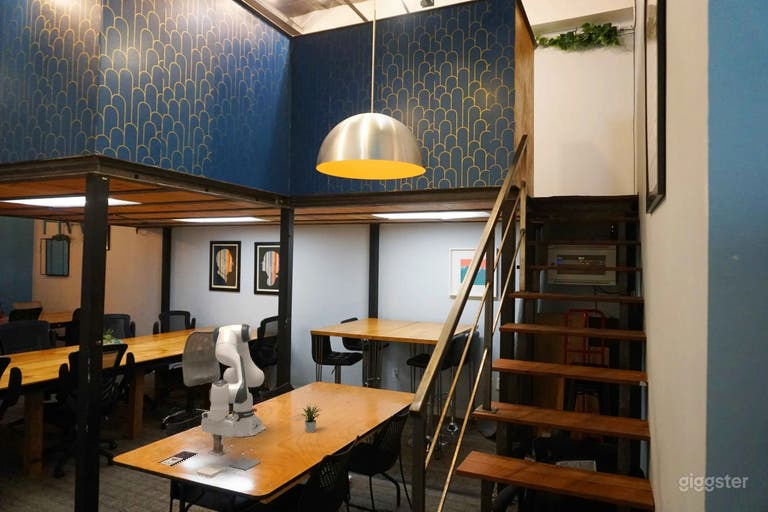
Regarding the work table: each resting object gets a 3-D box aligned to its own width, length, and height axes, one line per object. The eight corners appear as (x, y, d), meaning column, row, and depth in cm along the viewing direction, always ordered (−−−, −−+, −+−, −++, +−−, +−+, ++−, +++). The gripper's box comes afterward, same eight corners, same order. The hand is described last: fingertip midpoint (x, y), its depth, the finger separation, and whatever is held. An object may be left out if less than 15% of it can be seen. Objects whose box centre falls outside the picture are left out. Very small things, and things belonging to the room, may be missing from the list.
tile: (212, 464, 240) (196, 471, 231) (226, 467, 236) (210, 474, 227) (212, 468, 240) (196, 475, 231) (226, 471, 236) (210, 479, 227)
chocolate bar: (197, 453, 257) (172, 465, 241) (197, 455, 257) (171, 467, 240) (183, 450, 261) (157, 462, 244) (183, 452, 260) (157, 464, 244)
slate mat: (243, 459, 251) (243, 458, 251) (260, 463, 247) (260, 462, 247) (228, 466, 241) (228, 465, 242) (245, 470, 237) (245, 469, 237)
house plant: (317, 436, 289) (317, 408, 290) (295, 434, 292) (296, 407, 293) (325, 429, 303) (325, 402, 304) (303, 427, 306) (304, 401, 307)
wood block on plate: (216, 449, 242) (217, 423, 243) (228, 452, 238) (229, 426, 239) (207, 453, 237) (208, 426, 237) (219, 456, 233) (220, 429, 234)
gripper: (240, 415, 237) (239, 444, 236) (209, 410, 246) (208, 438, 245) (231, 419, 231) (230, 448, 230) (199, 413, 240) (198, 442, 239)
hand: (218, 443), depth 238 cm, fingers closed on wood block on plate, 3 cm apart
